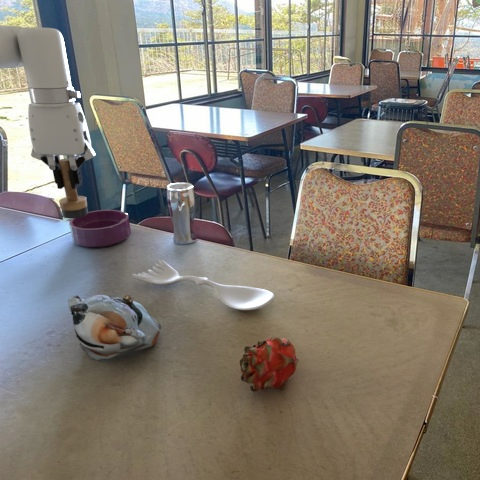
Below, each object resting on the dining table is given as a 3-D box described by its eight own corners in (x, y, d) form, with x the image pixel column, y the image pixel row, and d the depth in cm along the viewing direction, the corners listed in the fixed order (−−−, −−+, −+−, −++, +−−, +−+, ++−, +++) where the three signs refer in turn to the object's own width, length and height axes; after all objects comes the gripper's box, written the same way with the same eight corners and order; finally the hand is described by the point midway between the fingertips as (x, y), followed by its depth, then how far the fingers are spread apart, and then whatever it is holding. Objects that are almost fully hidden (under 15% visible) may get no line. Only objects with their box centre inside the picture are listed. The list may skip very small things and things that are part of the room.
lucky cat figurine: (176, 333, 89) (163, 295, 78) (129, 388, 82) (107, 354, 71) (115, 295, 93) (94, 253, 82) (66, 344, 86) (35, 306, 75)
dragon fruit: (240, 411, 74) (286, 377, 84) (278, 400, 69) (322, 366, 79) (217, 360, 74) (266, 332, 84) (254, 346, 69) (300, 319, 79)
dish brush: (57, 218, 101) (45, 162, 96) (69, 209, 106) (58, 156, 101) (82, 219, 101) (71, 163, 96) (92, 210, 106) (83, 157, 101)
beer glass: (192, 246, 125) (187, 191, 119) (167, 244, 125) (160, 189, 119) (202, 236, 131) (198, 183, 125) (178, 234, 132) (172, 181, 126)
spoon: (160, 269, 112) (158, 256, 111) (281, 300, 101) (281, 286, 99) (132, 286, 105) (130, 272, 103) (259, 322, 93) (259, 306, 92)
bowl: (63, 249, 121) (59, 229, 119) (86, 228, 134) (83, 209, 132) (120, 249, 122) (117, 229, 120) (138, 228, 135) (135, 209, 133)
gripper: (101, 94, 97) (114, 182, 105) (20, 93, 97) (39, 181, 104) (86, 99, 91) (102, 192, 98) (-2, 98, 90) (21, 192, 97)
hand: (69, 186), depth 101 cm, fingers closed on dish brush
